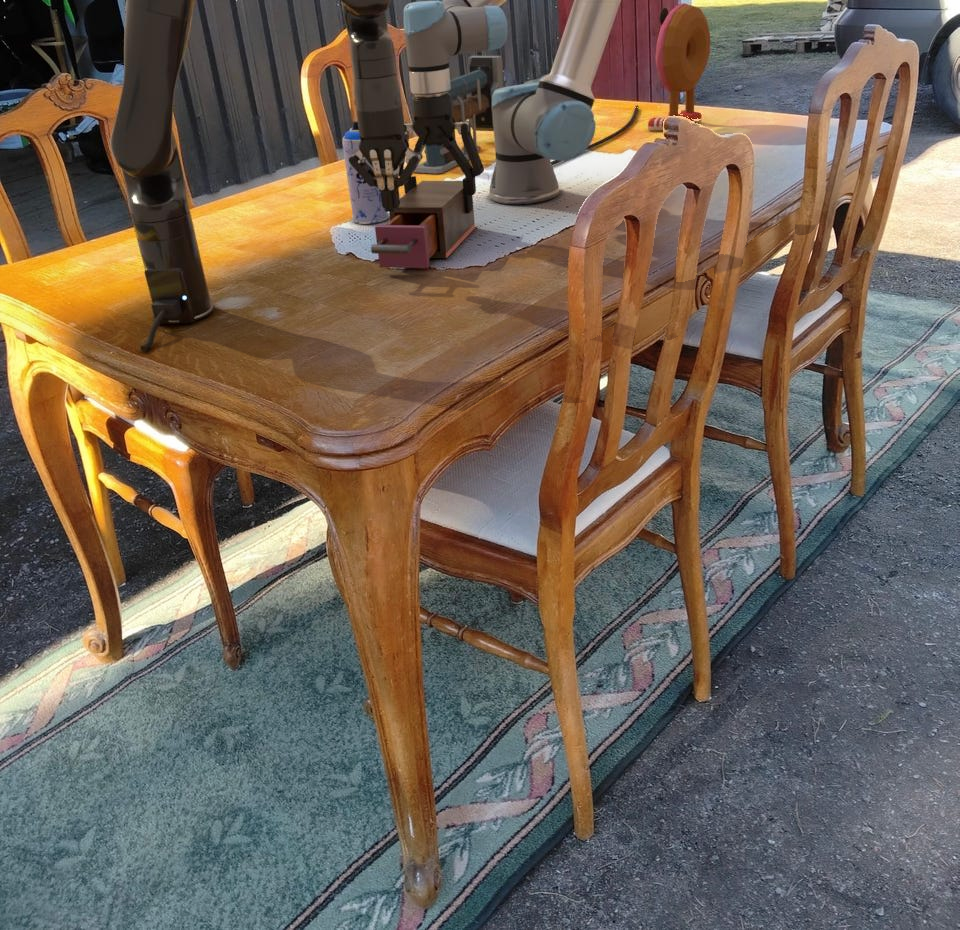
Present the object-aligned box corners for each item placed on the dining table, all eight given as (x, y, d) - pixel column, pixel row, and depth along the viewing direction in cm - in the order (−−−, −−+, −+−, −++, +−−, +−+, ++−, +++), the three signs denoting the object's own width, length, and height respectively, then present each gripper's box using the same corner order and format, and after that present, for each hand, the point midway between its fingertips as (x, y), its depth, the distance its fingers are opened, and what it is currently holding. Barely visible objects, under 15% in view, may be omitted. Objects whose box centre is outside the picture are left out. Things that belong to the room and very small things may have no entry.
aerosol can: (355, 226, 202) (341, 127, 192) (349, 216, 209) (336, 120, 199) (392, 220, 204) (380, 122, 194) (385, 211, 210) (373, 115, 200)
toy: (679, 116, 271) (683, -2, 256) (712, 118, 265) (718, -3, 250) (639, 132, 257) (640, 8, 242) (673, 135, 251) (676, 8, 236)
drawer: (417, 279, 167) (412, 237, 164) (368, 278, 170) (362, 236, 166) (456, 238, 187) (453, 200, 183) (412, 237, 189) (408, 199, 185)
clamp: (440, 173, 235) (432, 80, 224) (410, 172, 239) (400, 80, 228) (506, 140, 261) (501, 55, 250) (478, 139, 264) (472, 55, 254)
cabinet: (446, 258, 180) (442, 207, 175) (394, 257, 183) (388, 207, 178) (474, 227, 196) (471, 180, 191) (426, 227, 198) (421, 180, 194)
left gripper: (424, 99, 158) (435, 204, 167) (350, 101, 162) (364, 204, 170) (409, 108, 152) (421, 217, 161) (332, 110, 155) (347, 216, 164)
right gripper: (495, 88, 180) (502, 206, 191) (380, 91, 186) (394, 205, 197) (485, 95, 174) (493, 217, 185) (366, 98, 180) (381, 216, 191)
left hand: (391, 210), depth 166 cm, fingers closed
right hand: (441, 211), depth 191 cm, fingers open, 10 cm apart
